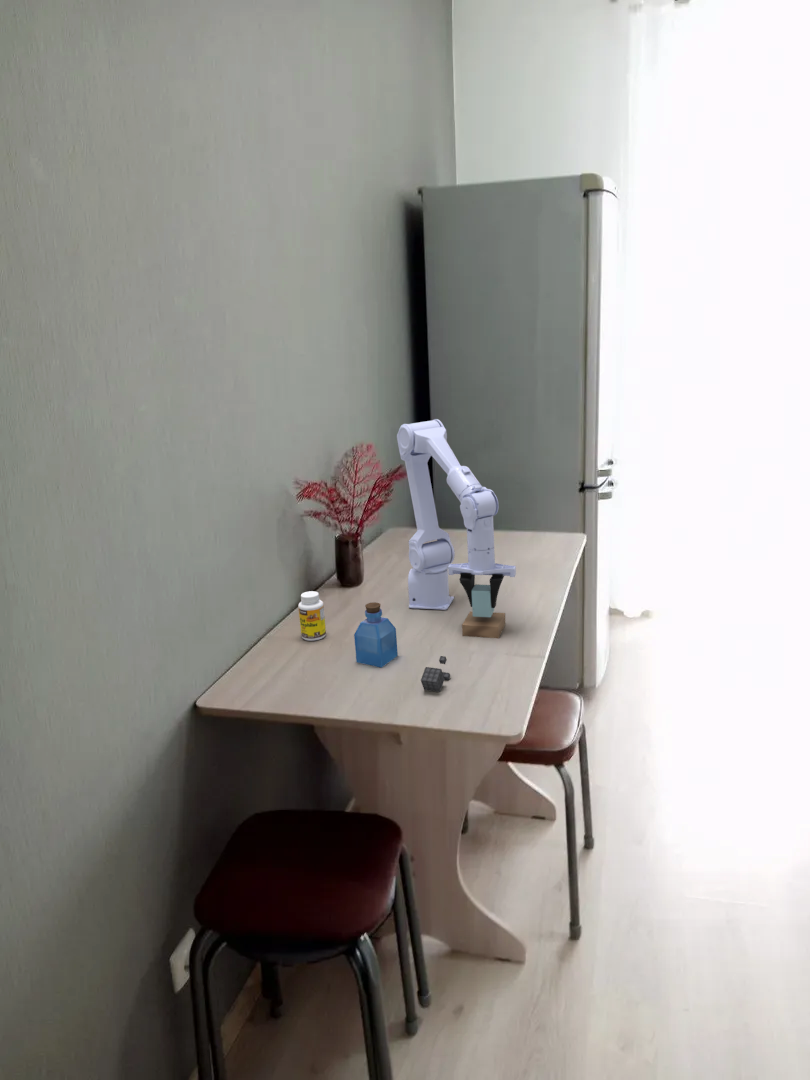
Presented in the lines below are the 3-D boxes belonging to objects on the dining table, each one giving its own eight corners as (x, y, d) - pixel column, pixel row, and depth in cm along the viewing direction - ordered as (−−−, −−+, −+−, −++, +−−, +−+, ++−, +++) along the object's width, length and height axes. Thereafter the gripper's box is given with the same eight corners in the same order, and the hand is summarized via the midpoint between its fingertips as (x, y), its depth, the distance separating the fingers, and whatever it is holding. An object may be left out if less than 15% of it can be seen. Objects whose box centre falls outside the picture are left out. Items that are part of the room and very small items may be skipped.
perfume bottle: (381, 667, 165) (377, 612, 162) (356, 662, 169) (351, 608, 165) (397, 655, 170) (393, 602, 167) (373, 650, 174) (368, 598, 170)
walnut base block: (462, 637, 178) (461, 625, 177) (470, 623, 185) (470, 611, 184) (498, 639, 176) (498, 627, 175) (505, 625, 183) (505, 613, 182)
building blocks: (420, 680, 153) (433, 647, 158) (426, 697, 156) (438, 664, 162) (436, 682, 152) (448, 648, 157) (442, 699, 155) (454, 666, 160)
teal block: (472, 616, 178) (471, 590, 176) (476, 609, 182) (475, 584, 180) (490, 617, 177) (489, 591, 175) (494, 610, 180) (493, 585, 179)
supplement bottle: (297, 641, 181) (292, 597, 178) (307, 631, 186) (303, 589, 183) (320, 642, 180) (316, 599, 177) (330, 632, 185) (326, 590, 182)
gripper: (443, 551, 173) (446, 611, 177) (511, 553, 169) (513, 614, 173) (451, 541, 180) (454, 599, 184) (516, 543, 176) (518, 602, 179)
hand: (483, 605), depth 179 cm, fingers closed on teal block, 4 cm apart
